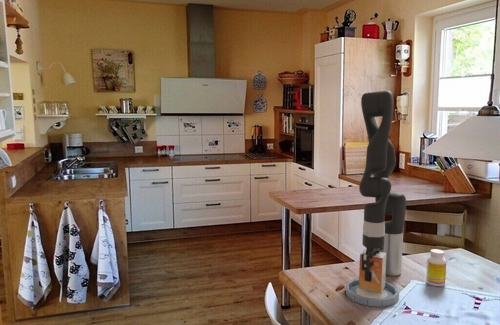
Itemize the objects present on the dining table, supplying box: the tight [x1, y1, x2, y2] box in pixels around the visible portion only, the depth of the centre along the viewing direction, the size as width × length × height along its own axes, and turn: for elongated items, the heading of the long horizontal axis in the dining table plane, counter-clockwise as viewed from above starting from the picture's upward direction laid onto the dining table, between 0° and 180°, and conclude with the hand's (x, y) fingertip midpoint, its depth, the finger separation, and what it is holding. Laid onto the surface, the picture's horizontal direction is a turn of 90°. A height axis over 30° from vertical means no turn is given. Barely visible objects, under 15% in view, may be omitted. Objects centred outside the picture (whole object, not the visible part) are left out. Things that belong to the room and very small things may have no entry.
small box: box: [358, 248, 386, 293], centre depth 146 cm, size 8×6×13 cm
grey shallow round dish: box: [345, 278, 400, 308], centre depth 147 cm, size 18×18×2 cm
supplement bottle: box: [425, 248, 447, 287], centre depth 156 cm, size 7×7×13 cm
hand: (372, 277), depth 146 cm, fingers closed on small box, 6 cm apart
